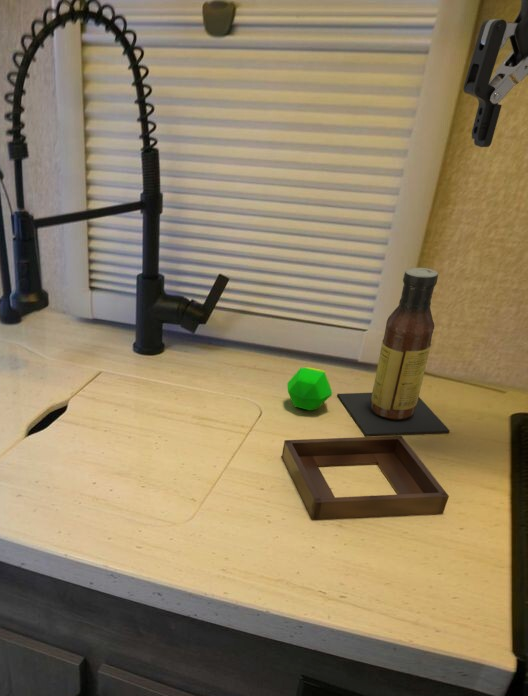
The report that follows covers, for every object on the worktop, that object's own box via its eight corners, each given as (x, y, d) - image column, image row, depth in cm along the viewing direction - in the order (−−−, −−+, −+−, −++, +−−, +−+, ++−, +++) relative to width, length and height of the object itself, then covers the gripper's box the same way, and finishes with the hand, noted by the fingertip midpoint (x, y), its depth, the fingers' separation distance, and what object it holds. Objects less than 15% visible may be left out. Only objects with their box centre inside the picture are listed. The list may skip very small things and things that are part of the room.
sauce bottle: (416, 407, 97) (455, 268, 85) (410, 426, 92) (451, 282, 81) (370, 397, 99) (402, 261, 87) (362, 416, 95) (395, 275, 83)
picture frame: (396, 451, 88) (401, 435, 86) (443, 513, 77) (449, 496, 75) (281, 456, 87) (284, 439, 85) (312, 519, 76) (315, 502, 74)
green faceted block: (309, 368, 91) (327, 344, 97) (271, 388, 95) (291, 364, 101) (335, 411, 92) (351, 385, 99) (298, 429, 97) (315, 402, 103)
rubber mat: (413, 393, 101) (413, 391, 101) (449, 433, 92) (449, 430, 92) (336, 396, 100) (337, 393, 100) (365, 436, 91) (365, 433, 91)
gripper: (530, -68, 55) (471, 153, 65) (692, -67, 56) (611, 151, 65) (485, -60, 61) (438, 141, 71) (633, -59, 62) (566, 139, 71)
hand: (521, 145), depth 68 cm, fingers open, 8 cm apart
